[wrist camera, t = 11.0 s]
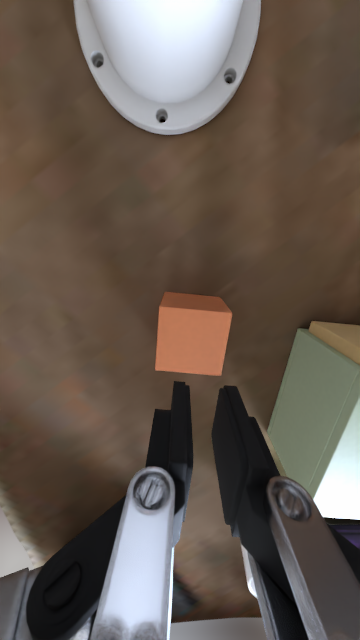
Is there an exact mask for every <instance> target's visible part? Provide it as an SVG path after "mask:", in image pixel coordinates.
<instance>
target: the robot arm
mask: <svg viewBox="0 0 360 640" xmlns="http://www.w3.org/2000/svg"><path fill="white" fill-rule="evenodd" d="M74 9H75V18H76V27H77V31H78V35H79V39H80V43H81V47H82V51H83V54H84V56H85V58H86V61H87V63H88V66H89V68H90V71H91V73H92V75H93V77H94V79H95V81H96V82H97V84H98V86H99V88H100V90H101V91H102V93H103V94H104V95H105V97H106V98H107V100H108V101H109V103H110V104H111V105H112V106H113V107H114V108H115V109H116V110H117V111H118V112H119V113H120V114H121V115H122V116H123V117H124V118H125V119H127V120H128V121H130V122H131V123H133V124H134V125H135V126H137V127H139V128H142V129H144V130H147V131H149V132H152V133H157V134H163V135H173V134H182V133H186V132H189V131H192V130H195V129H197V128H199V127H201V126H202V125H204V124H206V123H208V122H209V121H210V120H212V119H213V118H214V117H215V116H216V115H217V114H219V113H220V112H221V111H222V110H223V109H224V107H225V106H226V105H227V104H228V102H229V101H230V100H231V99H232V97H233V96H234V94H235V92H236V91H237V89H238V87H239V85H240V83H241V82H242V80H243V77H244V75H245V72H246V70H247V67H248V65H249V62H250V60H251V56H252V53H253V50H254V46H255V43H256V40H257V34H258V28H259V21H260V15H261V0H74ZM100 66H101V67H100ZM226 81H229V82H230V84H229V83H227V82H226ZM161 119H165V122H164V123H160V120H161ZM212 444H213V450H214V456H215V463H216V469H217V475H218V481H219V488H220V494H221V500H222V507H223V513H224V519H225V523H226V525H230V527H231V533H232V537H240V541H241V545H242V546H243V547H244V548H245V549H246V550H247V553H248V560H249V564H250V568H251V573H252V577H253V581H254V585H255V589H256V594H257V598H258V602H259V606H260V610H261V615H262V619H263V623H264V627H265V631H266V636H267V640H360V549H359V548H357V547H356V546H355V545H354V544H352V543H351V542H350V541H349V540H347V539H346V538H345V537H344V536H342V535H341V534H340V533H339V532H337V531H336V530H335V529H334V528H332V527H331V526H330V525H329V524H327V523H326V522H325V520H324V518H323V516H322V514H321V513H320V511H319V509H318V507H317V505H316V504H315V502H314V500H313V499H312V497H311V496H310V494H309V493H308V492H307V490H306V489H305V488H304V487H303V486H302V485H300V484H299V483H297V482H296V481H295V480H293V479H290V478H288V477H285V476H280V474H279V471H278V469H277V467H276V464H275V462H274V460H273V457H272V455H271V453H270V451H269V448H268V446H267V444H266V441H265V439H264V437H263V434H262V432H261V430H260V428H259V425H258V423H257V421H256V419H255V418H254V417H249V416H248V414H247V411H246V409H245V406H244V404H243V401H242V399H241V396H240V394H239V391H238V389H237V387H236V386H224V388H220V390H219V395H218V400H217V406H216V411H215V417H214V422H213V428H212ZM192 469H193V440H192V423H191V405H190V388H189V386H188V385H185V382H177V381H174V385H173V395H172V405H171V410H162V409H155V412H154V418H153V424H152V430H151V436H150V442H149V448H148V454H147V460H146V467H145V468H144V469H142V470H140V471H139V472H137V473H136V474H135V476H134V477H133V478H132V480H131V482H130V485H129V487H128V491H127V495H126V496H124V497H123V498H122V499H121V500H120V501H118V502H117V503H116V504H115V505H113V506H112V507H111V508H110V509H109V510H107V511H106V512H105V513H104V514H103V515H101V516H100V517H99V518H98V519H97V520H95V521H94V522H93V523H92V524H91V525H89V526H88V527H87V528H86V529H85V530H83V531H82V532H81V533H80V534H79V535H77V536H76V537H75V538H74V539H72V540H71V541H70V542H69V543H68V544H66V545H65V546H64V547H63V548H62V549H60V550H59V551H58V552H57V553H56V554H54V555H53V556H52V557H51V558H50V559H49V560H48V561H47V562H46V563H45V564H44V566H41V567H38V568H36V569H34V570H31V571H29V569H28V568H25V569H22V570H20V571H17V572H15V573H12V574H9V575H6V576H4V577H1V578H0V640H167V629H168V611H169V593H170V576H171V558H172V548H173V547H174V546H175V545H176V543H177V542H178V541H179V538H180V532H181V525H182V522H184V520H185V514H186V507H187V501H188V495H189V488H190V482H191V476H192Z"/></svg>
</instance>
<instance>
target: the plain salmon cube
mask: <svg viewBox="0 0 360 640" xmlns="http://www.w3.org/2000/svg"><path fill="white" fill-rule="evenodd" d="M231 319H232V312H231V311H230V309H229V308H228V307H227V306H226V304H225V303H224V302H223V300H222V299H221V298H220V297H215V296H205V295H195V294H184V293H174V292H165V293H164V295H163V298H162V301H161V303H160V306H159V318H158V333H157V348H156V363H155V370H160V371H171V372H182V373H194V374H205V375H217V376H221V373H222V367H223V362H224V357H225V351H226V346H227V340H228V335H229V330H230V324H231Z"/></svg>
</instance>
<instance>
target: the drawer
mask: <svg viewBox="0 0 360 640" xmlns="http://www.w3.org/2000/svg"><path fill="white" fill-rule="evenodd" d="M309 332H310V333H311V334H313V335H314V336H316V337H317V338H319V339H321V340H322V341H324V342H325V343H327V344H328V345H330V346H331V347H333V348H334V349H336V350H337V351H339V352H340V353H342V354H343V355H345V356H346V357H348V358H349V359H351V360H352V361H354V362H355V363H357V364H358V365H360V326H359V325H349V324H338V323H328V322H317V321H311V324H310V328H309Z"/></svg>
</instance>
